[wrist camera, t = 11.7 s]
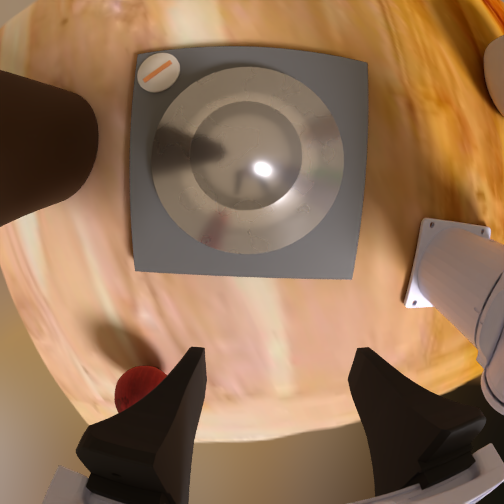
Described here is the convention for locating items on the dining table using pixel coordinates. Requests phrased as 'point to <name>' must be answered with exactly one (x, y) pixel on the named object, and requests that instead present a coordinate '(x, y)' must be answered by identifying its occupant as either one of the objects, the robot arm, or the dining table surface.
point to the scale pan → (259, 220)
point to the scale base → (263, 264)
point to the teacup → (495, 72)
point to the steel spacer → (246, 155)
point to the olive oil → (42, 145)
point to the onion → (136, 385)
